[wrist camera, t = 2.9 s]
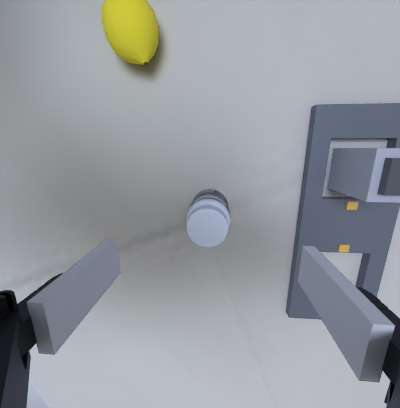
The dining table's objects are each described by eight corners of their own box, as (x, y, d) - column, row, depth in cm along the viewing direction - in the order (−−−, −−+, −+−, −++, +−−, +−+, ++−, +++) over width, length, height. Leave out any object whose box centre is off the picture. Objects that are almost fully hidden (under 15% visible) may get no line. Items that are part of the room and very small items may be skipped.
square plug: (327, 188, 26) (372, 204, 18) (333, 148, 25) (384, 148, 17) (367, 188, 26) (430, 205, 18) (376, 148, 24) (447, 148, 17)
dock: (286, 311, 31) (289, 319, 29) (311, 106, 24) (318, 104, 22) (364, 315, 30) (371, 323, 29) (415, 105, 23) (429, 102, 21)
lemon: (110, 26, 24) (77, -17, 18) (152, 3, 23) (130, -50, 17) (133, 86, 24) (107, 61, 19) (175, 66, 23) (160, 33, 18)
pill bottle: (218, 228, 28) (219, 259, 20) (187, 214, 28) (175, 240, 20) (234, 197, 27) (241, 218, 19) (201, 182, 27) (194, 196, 19)
